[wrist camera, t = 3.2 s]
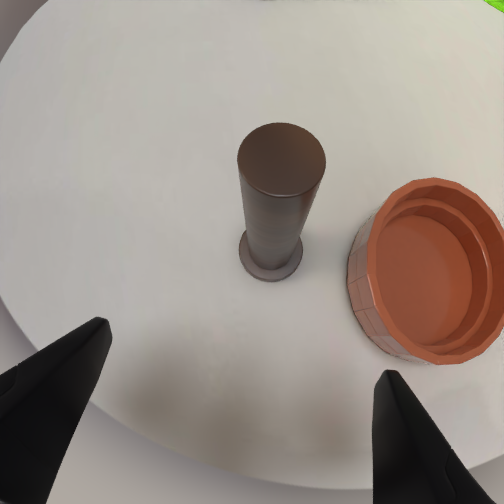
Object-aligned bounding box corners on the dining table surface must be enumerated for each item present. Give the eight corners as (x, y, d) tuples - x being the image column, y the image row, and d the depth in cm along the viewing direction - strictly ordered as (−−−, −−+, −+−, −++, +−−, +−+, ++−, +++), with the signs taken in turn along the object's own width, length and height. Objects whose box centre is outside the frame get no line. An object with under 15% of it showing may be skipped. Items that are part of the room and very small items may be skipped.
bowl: (426, 390, 20) (460, 400, 15) (311, 288, 22) (325, 276, 18) (496, 271, 22) (532, 258, 17) (401, 176, 24) (425, 146, 20)
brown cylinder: (273, 295, 22) (290, 246, 10) (226, 253, 23) (189, 162, 11) (313, 249, 23) (369, 157, 11) (267, 210, 24) (274, 89, 11)
